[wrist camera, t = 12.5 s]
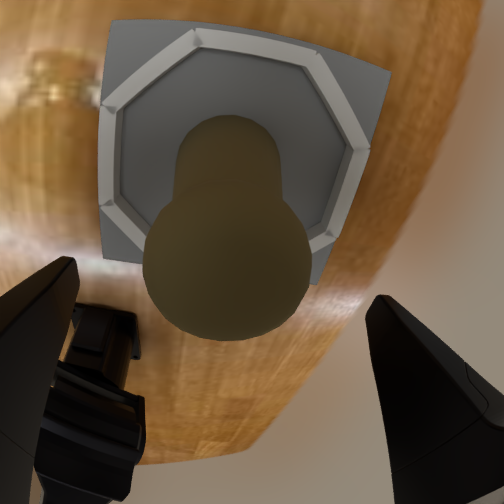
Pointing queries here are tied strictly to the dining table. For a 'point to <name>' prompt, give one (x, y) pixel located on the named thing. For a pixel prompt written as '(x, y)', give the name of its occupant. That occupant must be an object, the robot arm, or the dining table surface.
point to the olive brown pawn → (227, 236)
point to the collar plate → (230, 103)
